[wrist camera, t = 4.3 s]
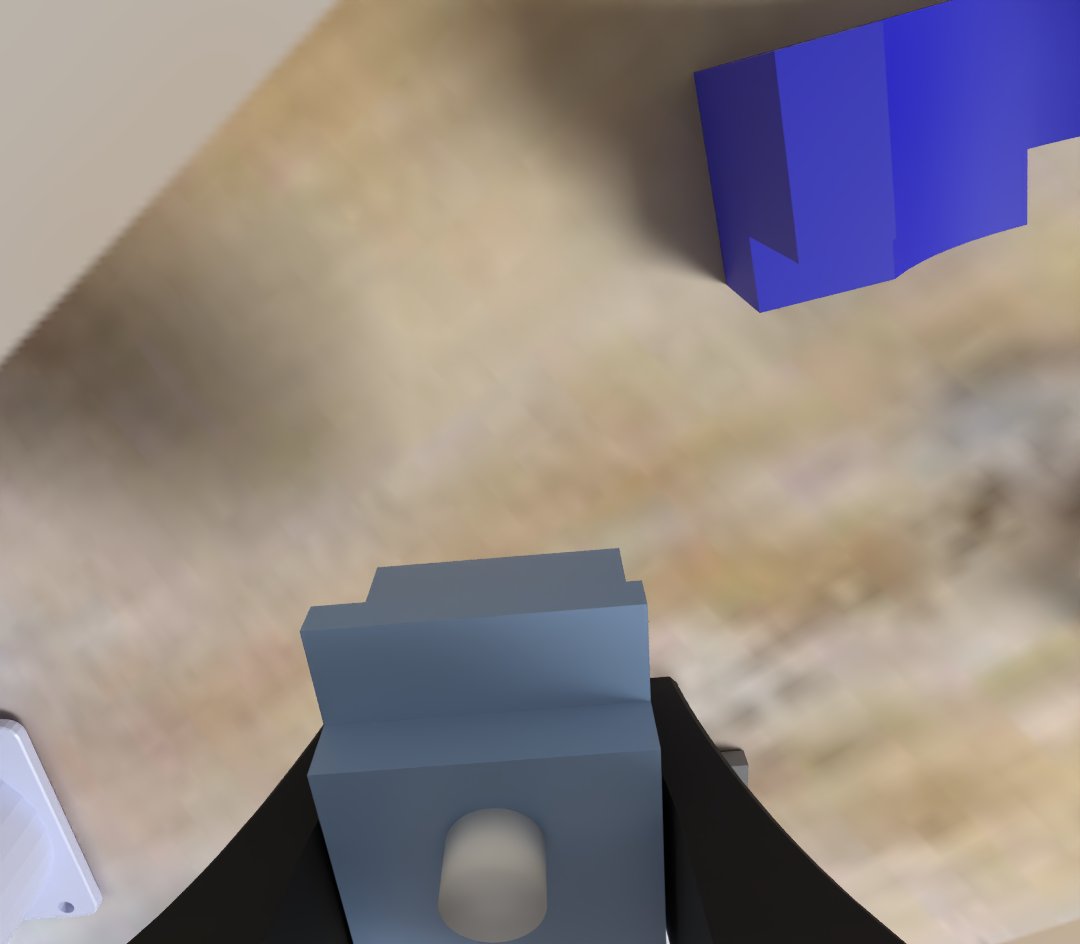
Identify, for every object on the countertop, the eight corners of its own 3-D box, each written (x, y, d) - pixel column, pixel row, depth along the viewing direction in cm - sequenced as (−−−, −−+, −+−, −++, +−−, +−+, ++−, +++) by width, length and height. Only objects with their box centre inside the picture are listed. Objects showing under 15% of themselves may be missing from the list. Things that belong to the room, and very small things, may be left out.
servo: (432, 842, 16) (388, 1168, 11) (362, 491, 12) (255, 730, 8) (633, 828, 15) (679, 1150, 11) (615, 470, 12) (670, 698, 7)
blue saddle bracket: (725, 283, 18) (809, 355, 13) (692, 72, 16) (773, 50, 11) (1269, 144, 17) (1616, 158, 12) (1298, -97, 15) (1725, -216, 10)
